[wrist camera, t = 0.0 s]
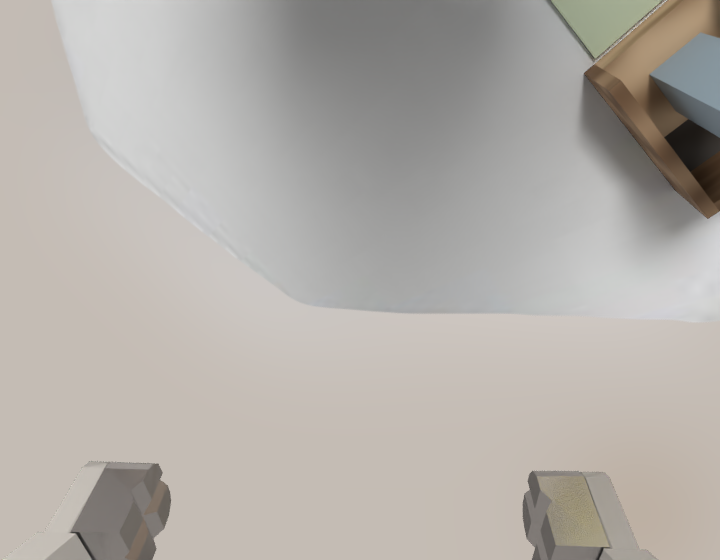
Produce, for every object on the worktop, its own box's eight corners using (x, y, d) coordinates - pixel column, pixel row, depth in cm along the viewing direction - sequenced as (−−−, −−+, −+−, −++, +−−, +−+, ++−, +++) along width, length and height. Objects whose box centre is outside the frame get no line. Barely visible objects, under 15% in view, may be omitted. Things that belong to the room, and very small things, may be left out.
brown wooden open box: (584, 73, 51) (609, 90, 45) (711, -38, 45) (759, -35, 40) (675, 190, 57) (707, 218, 51) (797, 105, 52) (849, 126, 46)
